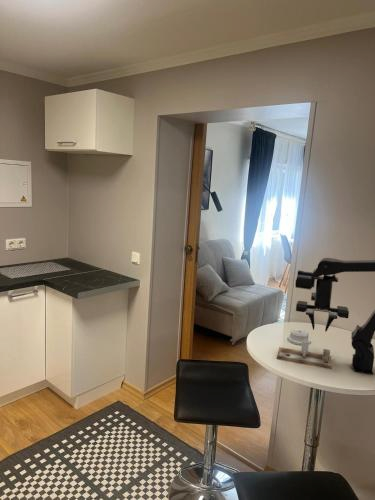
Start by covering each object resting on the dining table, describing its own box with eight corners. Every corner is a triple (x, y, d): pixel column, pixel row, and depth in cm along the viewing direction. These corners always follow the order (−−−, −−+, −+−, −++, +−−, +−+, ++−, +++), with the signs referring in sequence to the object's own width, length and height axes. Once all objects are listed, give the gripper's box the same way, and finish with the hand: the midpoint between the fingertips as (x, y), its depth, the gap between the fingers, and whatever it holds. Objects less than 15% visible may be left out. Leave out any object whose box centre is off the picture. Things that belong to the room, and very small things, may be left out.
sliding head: (307, 352, 147) (309, 340, 147) (307, 359, 142) (308, 346, 141) (301, 351, 148) (302, 339, 147) (300, 357, 143) (301, 345, 142)
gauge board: (331, 358, 146) (332, 348, 146) (331, 369, 138) (332, 358, 137) (279, 349, 153) (280, 339, 152) (276, 358, 145) (277, 348, 144)
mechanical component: (313, 346, 158) (308, 337, 167) (314, 337, 157) (309, 328, 167) (289, 345, 159) (285, 335, 168) (290, 335, 158) (286, 326, 168)
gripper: (349, 289, 145) (344, 327, 148) (299, 283, 151) (296, 319, 154) (350, 296, 135) (346, 337, 137) (297, 290, 141) (294, 329, 144)
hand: (319, 330), depth 143 cm, fingers open, 4 cm apart
